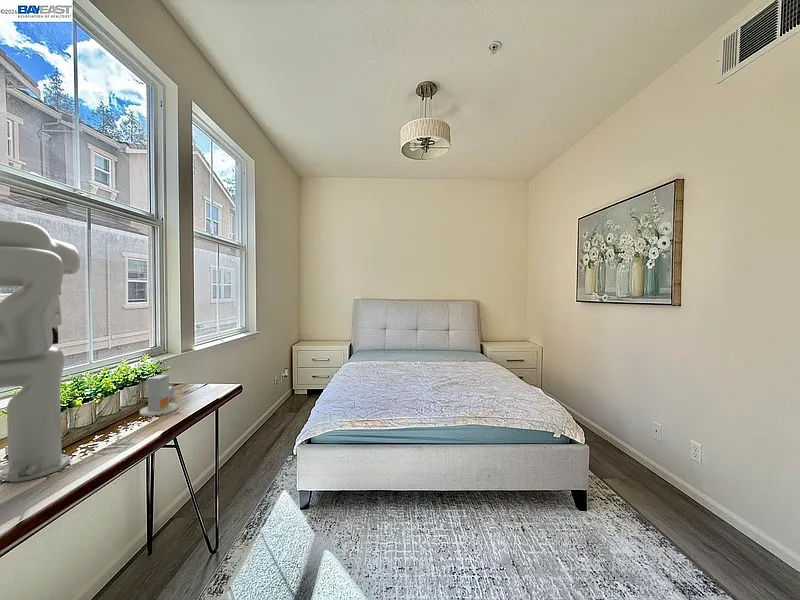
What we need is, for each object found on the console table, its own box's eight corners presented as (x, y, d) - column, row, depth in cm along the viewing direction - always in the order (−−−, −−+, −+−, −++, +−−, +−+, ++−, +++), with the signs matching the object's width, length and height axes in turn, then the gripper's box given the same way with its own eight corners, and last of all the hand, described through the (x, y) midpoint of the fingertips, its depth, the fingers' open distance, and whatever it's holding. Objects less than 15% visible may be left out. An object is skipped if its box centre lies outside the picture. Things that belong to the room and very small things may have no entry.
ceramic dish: (177, 413, 134) (177, 410, 134) (137, 418, 128) (137, 415, 128) (178, 403, 144) (178, 401, 144) (142, 408, 138) (142, 405, 138)
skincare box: (159, 410, 133) (158, 378, 132) (147, 410, 133) (147, 378, 132) (169, 405, 139) (169, 374, 138) (158, 405, 139) (158, 374, 138)
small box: (145, 404, 144) (145, 391, 143) (153, 398, 151) (153, 386, 151) (167, 403, 145) (167, 390, 145) (174, 397, 153) (174, 385, 153)
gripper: (50, 291, 105) (51, 349, 105) (69, 290, 120) (70, 341, 120) (14, 290, 101) (16, 351, 102) (38, 290, 116) (40, 343, 117)
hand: (45, 346), depth 111 cm, fingers open, 9 cm apart
